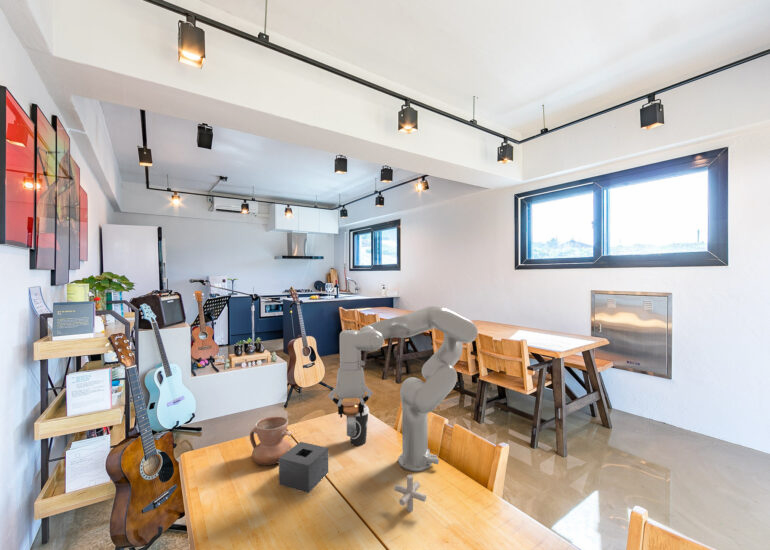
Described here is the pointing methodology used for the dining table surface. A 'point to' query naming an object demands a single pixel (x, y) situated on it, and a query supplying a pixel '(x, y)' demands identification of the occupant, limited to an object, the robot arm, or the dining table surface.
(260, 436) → the ceramic jug
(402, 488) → the light grey toy jack
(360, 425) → the coffee cup
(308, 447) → the hitch block
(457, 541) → the dining table surface
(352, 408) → the copper pin
